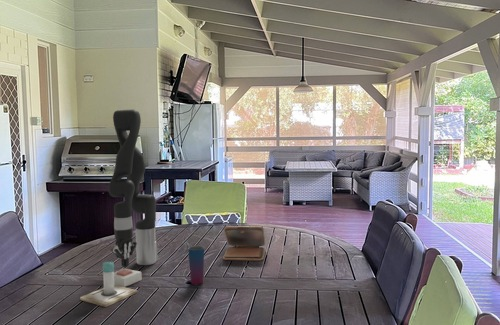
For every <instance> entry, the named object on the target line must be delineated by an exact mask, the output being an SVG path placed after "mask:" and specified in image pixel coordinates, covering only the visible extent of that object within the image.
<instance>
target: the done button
mask: <svg viewBox="0 0 500 325" xmlns="http://www.w3.org/2000/svg"><path fill="white" fill-rule="evenodd" d="M123 269H124V268H123ZM118 271H119V270H118ZM131 273H132V271H129V270H125V269H124V270H122V271H119V272H117V275H121V276H126V275H129V274H131Z"/></svg>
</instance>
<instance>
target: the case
mask: <svg viewBox="0 0 500 325" xmlns="http://www.w3.org/2000/svg"><path fill="white" fill-rule="evenodd" d="M223 232H224V236H225V239H226V242H227V245H228V246H229V245H230V246H231V247H228V248H226V251H225V253H224V255H223V257H222V260H224V261H238V262H239V261H244V262H245V261H246V262H248V261H249V262H250V261H251V262H252V261H254V262H259V261H263V260H264V258H265V253H266V249H265V248H264V247H263V246H265V245H266V236H265V234H266V233H265V228H264V227H262V226H260V225H259V226H253V225H251V226H243V225H241V226H237V225H236V226H225V227H223Z"/></svg>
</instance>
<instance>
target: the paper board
mask: <svg viewBox="0 0 500 325" xmlns="http://www.w3.org/2000/svg"><path fill="white" fill-rule="evenodd" d="M114 288H115V293H114V294H111V295H105V294H104V287H102V288H100V289H97V290H94V291H92V292H90V293H88V294H85V295H82V296H80V297H79V298H80V301H83V302H86V303H90V304H94V305H96V306H101V307H105V308H107V307H109V306H111V305H114V304H116V303H118V302H120V301H122V300H124V299H126V298H129V297H130V296H133V295H135V294H137V293H138V290H137V289H132V288H130V287H122V286H118V285H114Z"/></svg>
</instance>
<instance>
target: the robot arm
mask: <svg viewBox="0 0 500 325" xmlns="http://www.w3.org/2000/svg"><path fill="white" fill-rule="evenodd" d="M112 115H113V117H112V120H113V126H114V129H115V133H116V136H117V139H118V143H119V147H120V148H119V150H118V151H117V154H116V157H115V164H114V171H113V174H112V178H111V180H110V182H109V184H108V188H107V189H108V191H107V192H108V194H109V195H110V196H111V197H113V198H124V200H123V201H120V202H119V201H118V202H116V203H115V204H114V205H113V214H114V216H113V218H114V221H113V229H114V239H115V246H114V247H113V248H111V252H112V253H113V255H114V256H116V258H117V259H121V266H122V267H123V268H128V267H129V265H130V264H129V263H130V262H129V261H130V260H129V259H130V256H133V254H134V250H135V251H136V255H135V256H136V264H137V265H139V266H150V265H154V264H156V263H157V262H158V242H157V241H156V240H157V239H156V221H157V218H156V217H157V216H156V215H157V201H156V196H154V195H153V194H146V193H145V194H142V193H141V192H140V184H141V181H142V179H143V178H144V175H145V172H146V164H145V159H144V154H143V153H142V152H141V150H140V149H139V148H138V146H136V145H137V141H138V137H139V133H140V128H141V123H142V122H141V120H142V119H141V114H140V112H139V111H138V109H121V110H119V109H118V110H115V111H114V112H113V114H112ZM128 131H129V132H128ZM125 177H126V179H124V180H122V178H125ZM132 212H133V213H135V214H140V215H142V214H144V218H142V219H140V220H138V221H137V220H136V222H135V223H134V224H135V241H134V240H133V237H134V229H133V228H134V227H133V226H134V225H133V216H132Z"/></svg>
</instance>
